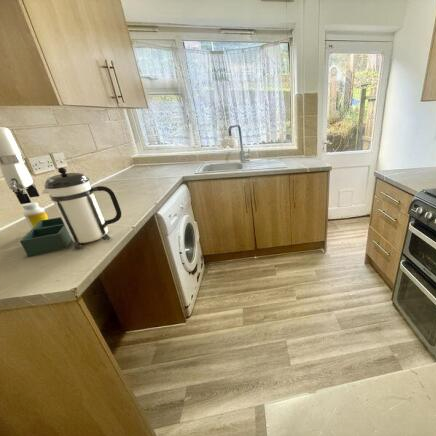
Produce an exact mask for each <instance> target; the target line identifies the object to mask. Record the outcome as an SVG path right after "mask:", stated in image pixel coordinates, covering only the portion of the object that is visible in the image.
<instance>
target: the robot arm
mask: <svg viewBox="0 0 436 436" xmlns="http://www.w3.org/2000/svg"><path fill="white" fill-rule="evenodd" d="M25 163H26V161H25V159H24V156H23V154H22V152H21V150H20V148H19V146H18V144H17V142H16V140H15V138H14V136H13V134H12V132H11V129H9V128H8V127H6V126H0V172H1V173H2V176H3V178H4V180H5V183H6V186H7V187H8V189H9V190H12V192H13V194H14V196H15V197H16V198H17V201H18V202H19V204H20V205H24V204H27V203H31V202H32V200H31V198H38V197H40V194H39V191H38V189H37V187H36V185H35V184H34V183H35V182H34V180H33V177H32V175H31V173H30V172H29V169H28V167H27V166H26V164H25Z"/></svg>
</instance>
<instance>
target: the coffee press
mask: <svg viewBox="0 0 436 436" xmlns="http://www.w3.org/2000/svg"><path fill="white" fill-rule="evenodd" d="M57 172H58V173H59V174H56V175H53V176H49V177H48V178H46V179H45V182H44V185H43V187H44V188H43V190H42V192H41V194H42V195H45V194H49V199H50V200H51V202H53V205H54V206H55V208H56V210H57V212H58V214H59V217H61V218H62V220H63V222H64V225H65V227H66V229H67V231H68V233H69V235H70V237H71V241H73V243H74V249H78V250H79V249H80V248H82V247H83V245H84V244H86V243H90V242H94V241H97V240H99V239H103V240H104V241H106V240H107V241H109V240H110V239H111V236H110V235H108V233H109V229H108V226H109V225H111V224H114V223H116V222H118V221H119V220H121V217H122V209H121V207H120V204H119V202H118V199H117V197H116V194H115V192H114V190H112V189H111V188H109V187H107V186H105V185H98V186H94V187H92V186H91V184H90V178H89V177H87V175H85V174H84V173H82V172H67V169H66V168H65V167H59V168H58V169H57ZM102 191H103V192H105V193H107V194H108V195H109V197H110V199H111V202H112V204H113V207H114V210H115V216H114V217H113V218H111V219H110V218H109V219H106V220H105V218H104V216H103V213H102V211H101V209H100V206H99V204H98V201H97V199H96V195H95V192H102Z"/></svg>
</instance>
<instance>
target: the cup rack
mask: <svg viewBox="0 0 436 436" xmlns="http://www.w3.org/2000/svg"><path fill="white" fill-rule="evenodd" d="M71 241H72V239H71V237H70V235H69V233H68V231H67V229H66V227H65V225H64V222H63V220H62V218H61V216H59V217H52V218H49V219H46V220H41V221H40V222H39V223H38V224H37V225H36V226H35V227H34V228H33V229H30V230H29V231H28V233H27V234H25V235H24V236H23V237H22V238H21V239H20V240H19V242H20V244H21V246H22V248H23V250H24V252H25V253H26V255H27V257H33V256H38V255H42V254H47V253H51V252H56V251H61V250H64V249H67V247H68V246H69V244H70V243H71Z"/></svg>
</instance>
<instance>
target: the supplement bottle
mask: <svg viewBox="0 0 436 436" xmlns="http://www.w3.org/2000/svg"><path fill="white" fill-rule="evenodd" d="M21 205H22V208H23V209H24V211H23V212H22V214H23V216H24V218H25V219H26V221H27V223H28V225H29V227H30V230H32V229H33V228H34V227H35V226H36V225H37V224H38V223H39V222H40V221H41V220H46V219H50V218H49V215H48V214H47V212H46V210H45V208H44V207H42V206H41V207H40V206H39V203H38V202H37V201H33V202H32V201H31V203H26V204H21Z"/></svg>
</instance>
